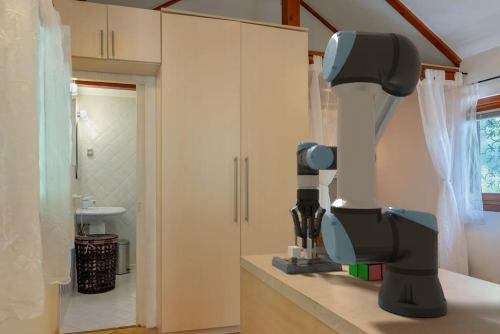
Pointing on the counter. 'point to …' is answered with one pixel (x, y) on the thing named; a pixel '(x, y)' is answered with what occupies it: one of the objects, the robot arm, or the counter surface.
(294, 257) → the block
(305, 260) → the panel
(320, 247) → the mug
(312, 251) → the fader
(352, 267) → the puzzle cube
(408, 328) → the counter surface
